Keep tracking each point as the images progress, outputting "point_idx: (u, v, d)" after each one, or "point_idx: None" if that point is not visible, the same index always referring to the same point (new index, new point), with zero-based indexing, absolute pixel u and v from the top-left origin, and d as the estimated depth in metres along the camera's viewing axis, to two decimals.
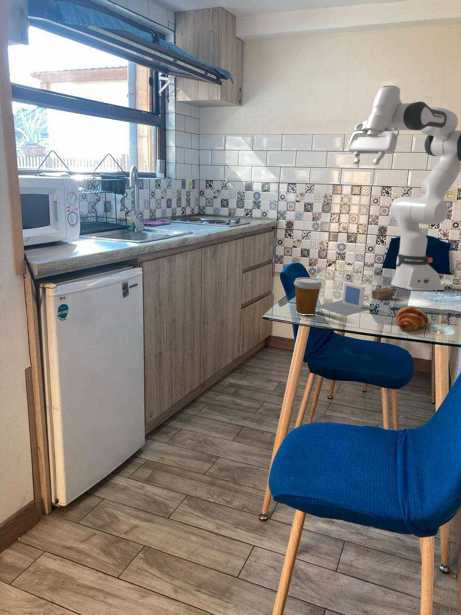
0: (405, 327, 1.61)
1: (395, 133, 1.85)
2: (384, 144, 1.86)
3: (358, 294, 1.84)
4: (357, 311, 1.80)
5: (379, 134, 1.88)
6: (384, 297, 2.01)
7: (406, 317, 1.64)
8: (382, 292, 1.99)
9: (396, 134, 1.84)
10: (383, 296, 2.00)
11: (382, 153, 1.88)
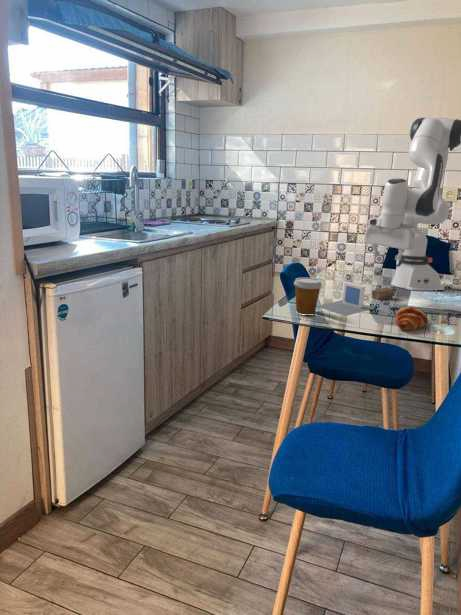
0: (404, 327, 1.61)
1: (412, 231, 1.88)
2: (403, 243, 1.90)
3: (358, 294, 1.84)
4: (357, 311, 1.80)
5: (396, 231, 1.92)
6: (384, 297, 2.01)
7: (406, 317, 1.64)
8: (382, 292, 1.99)
9: (413, 232, 1.88)
10: (383, 296, 2.00)
11: (402, 250, 1.92)
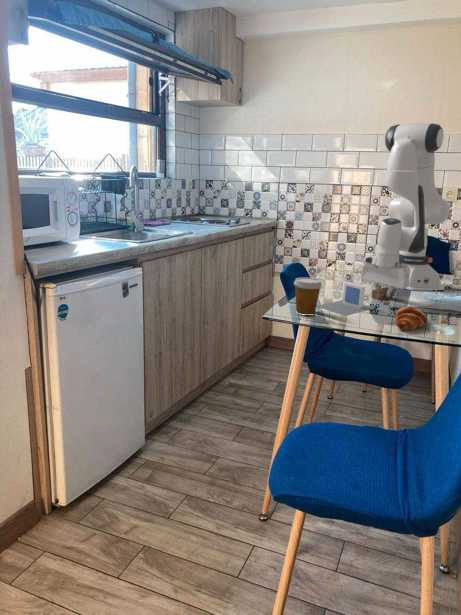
0: (403, 327, 1.61)
1: (406, 271, 1.92)
2: (398, 282, 1.94)
3: (358, 294, 1.84)
4: (357, 311, 1.80)
5: (390, 270, 1.96)
6: (384, 297, 2.01)
7: (405, 317, 1.64)
8: (382, 292, 1.99)
9: (408, 272, 1.92)
10: (383, 296, 2.00)
11: (391, 287, 1.98)
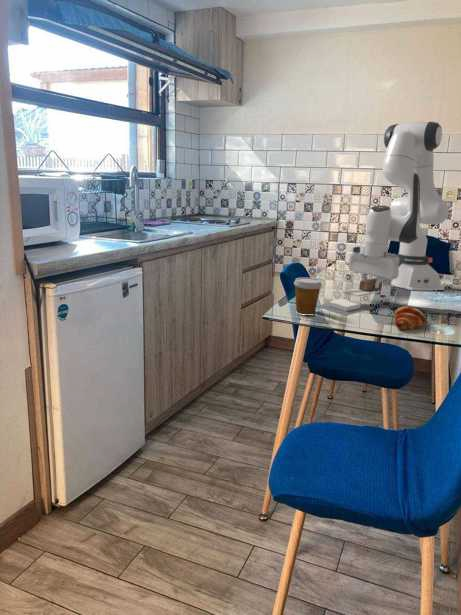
0: (401, 326, 1.62)
1: (396, 260, 1.83)
2: (387, 272, 1.85)
3: None
4: (357, 311, 1.80)
5: (379, 260, 1.86)
6: (372, 288, 1.92)
7: (403, 317, 1.65)
8: (370, 283, 1.90)
9: (397, 261, 1.83)
10: (371, 287, 1.91)
11: (380, 278, 1.89)
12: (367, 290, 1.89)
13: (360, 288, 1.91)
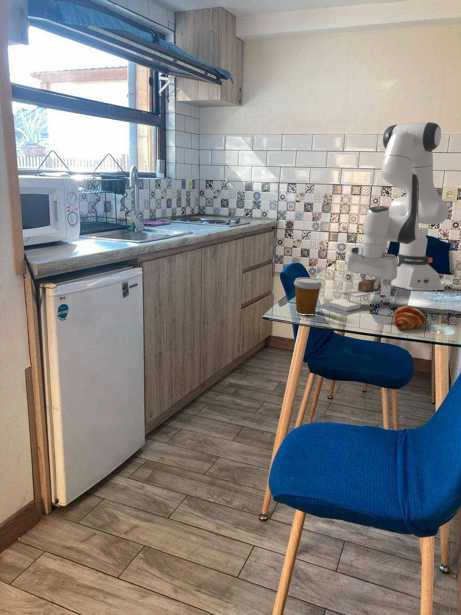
0: (400, 326, 1.62)
1: (394, 261, 1.82)
2: (385, 273, 1.84)
3: None
4: (357, 311, 1.80)
5: (378, 261, 1.86)
6: (371, 289, 1.91)
7: (402, 316, 1.65)
8: (369, 283, 1.89)
9: (395, 262, 1.82)
10: (370, 288, 1.91)
11: (379, 278, 1.88)
12: (366, 291, 1.89)
13: (359, 289, 1.90)
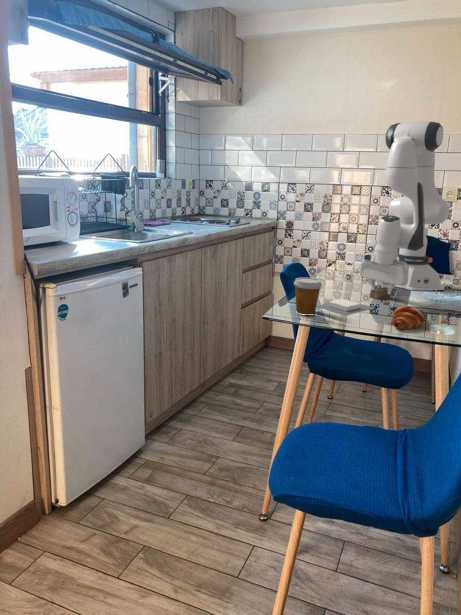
0: (398, 325, 1.62)
1: (405, 268, 1.92)
2: (397, 279, 1.94)
3: None
4: (357, 311, 1.80)
5: (389, 267, 1.96)
6: (382, 297, 2.01)
7: (401, 316, 1.65)
8: (380, 292, 2.00)
9: (406, 269, 1.92)
10: (381, 296, 2.01)
11: (393, 285, 1.98)
12: None
13: (370, 297, 2.01)
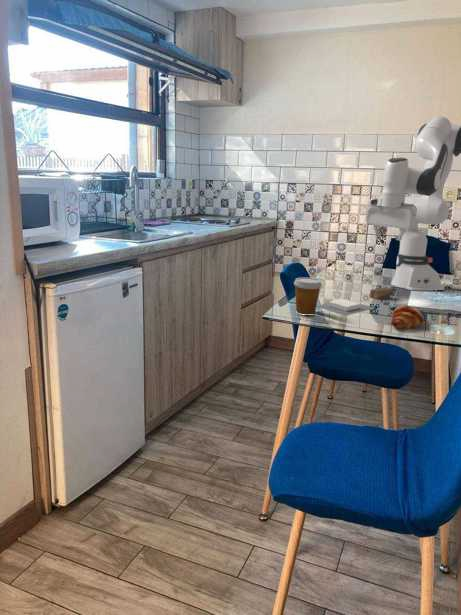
0: (396, 325, 1.63)
1: (413, 210, 1.86)
2: (404, 222, 1.88)
3: None
4: (357, 311, 1.80)
5: (396, 211, 1.90)
6: (382, 297, 2.01)
7: (400, 316, 1.66)
8: (380, 292, 2.00)
9: (414, 211, 1.86)
10: (381, 296, 2.01)
11: (403, 230, 1.91)
12: None
13: (370, 297, 2.01)
